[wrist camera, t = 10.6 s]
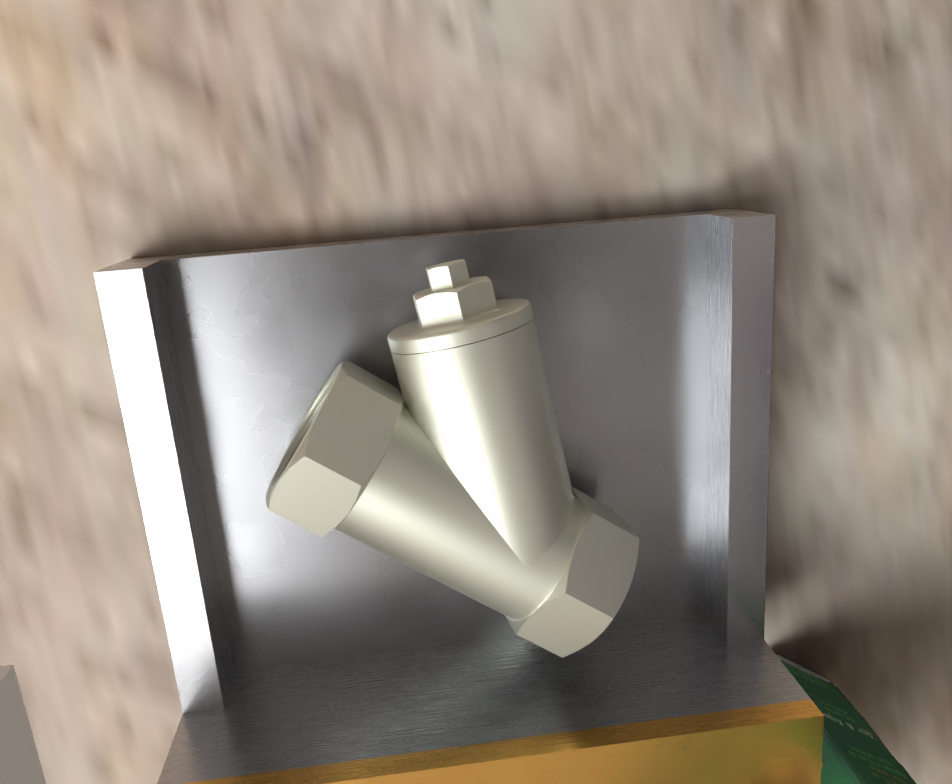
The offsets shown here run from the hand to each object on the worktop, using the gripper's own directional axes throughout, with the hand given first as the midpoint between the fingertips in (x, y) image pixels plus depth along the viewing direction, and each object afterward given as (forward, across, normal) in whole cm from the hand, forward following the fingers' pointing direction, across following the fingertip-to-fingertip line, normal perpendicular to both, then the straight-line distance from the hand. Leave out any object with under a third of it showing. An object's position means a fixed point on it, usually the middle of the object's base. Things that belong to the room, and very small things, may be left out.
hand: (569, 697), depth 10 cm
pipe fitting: (+11, 0, 0) cm, 11 cm away
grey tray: (+12, -1, -1) cm, 12 cm away
